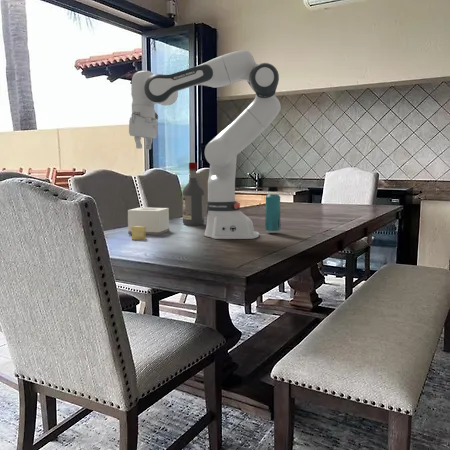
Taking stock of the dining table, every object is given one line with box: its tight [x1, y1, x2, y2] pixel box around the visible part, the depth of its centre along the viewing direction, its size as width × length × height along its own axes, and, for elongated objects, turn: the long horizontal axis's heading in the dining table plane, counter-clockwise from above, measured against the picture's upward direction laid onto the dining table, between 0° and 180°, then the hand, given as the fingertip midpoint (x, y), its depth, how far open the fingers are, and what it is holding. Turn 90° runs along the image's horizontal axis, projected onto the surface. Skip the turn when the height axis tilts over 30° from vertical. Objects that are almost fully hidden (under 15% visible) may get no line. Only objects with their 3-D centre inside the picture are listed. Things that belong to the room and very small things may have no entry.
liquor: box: [181, 162, 205, 227], centre depth 217 cm, size 9×9×30 cm
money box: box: [127, 207, 170, 236], centre depth 194 cm, size 14×12×10 cm
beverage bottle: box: [264, 185, 282, 232], centre depth 188 cm, size 6×7×20 cm
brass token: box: [131, 226, 147, 241], centre depth 176 cm, size 5×2×5 cm, turn 78°
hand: (143, 148), depth 180 cm, fingers open, 8 cm apart
